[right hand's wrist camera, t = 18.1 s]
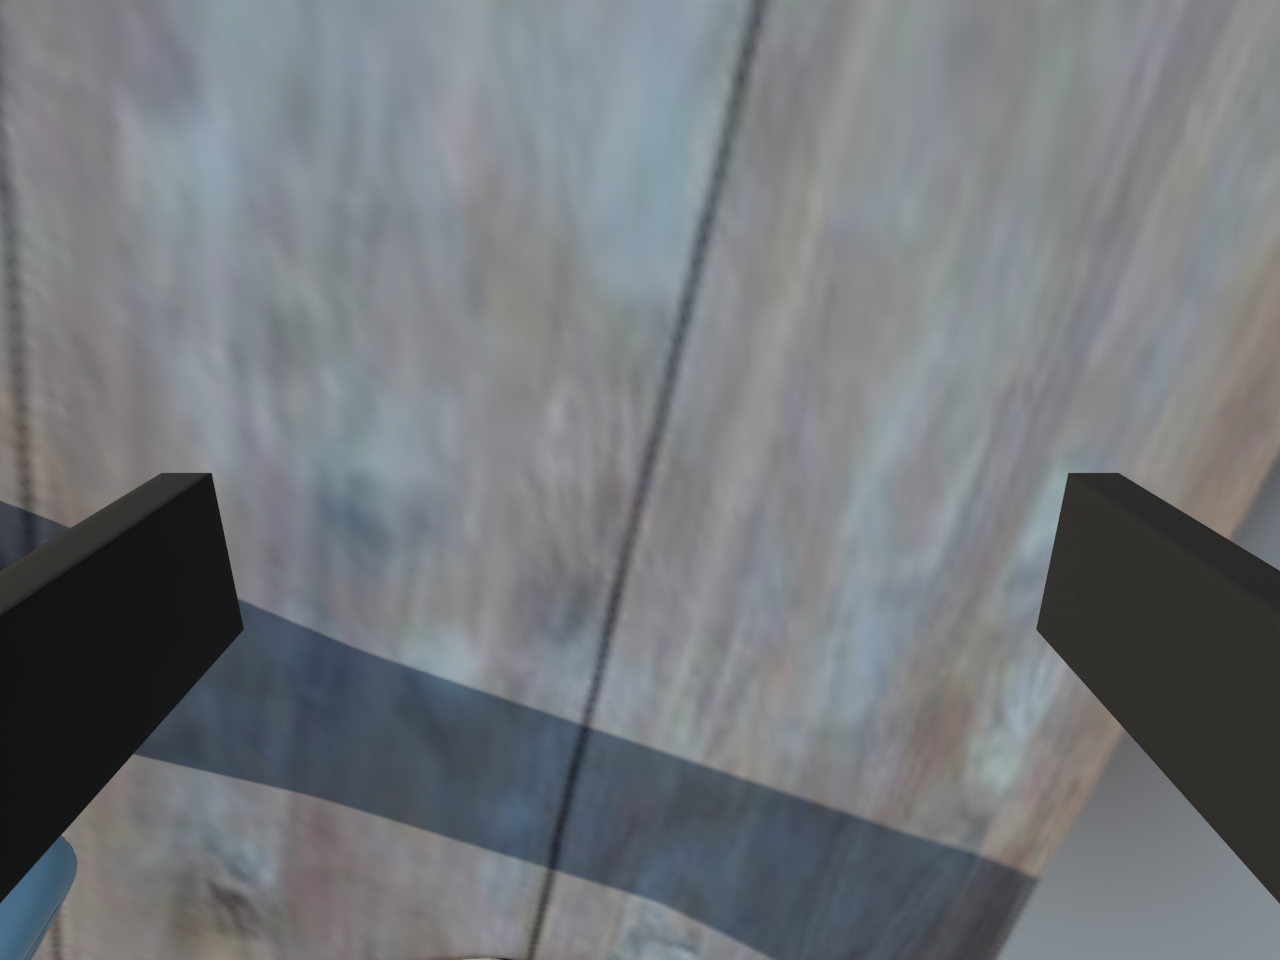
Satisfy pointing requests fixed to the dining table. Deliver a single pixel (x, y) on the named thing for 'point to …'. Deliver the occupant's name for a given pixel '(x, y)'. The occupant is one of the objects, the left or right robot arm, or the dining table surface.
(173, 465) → the dining table surface
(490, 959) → the wall clock
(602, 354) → the dining table surface
